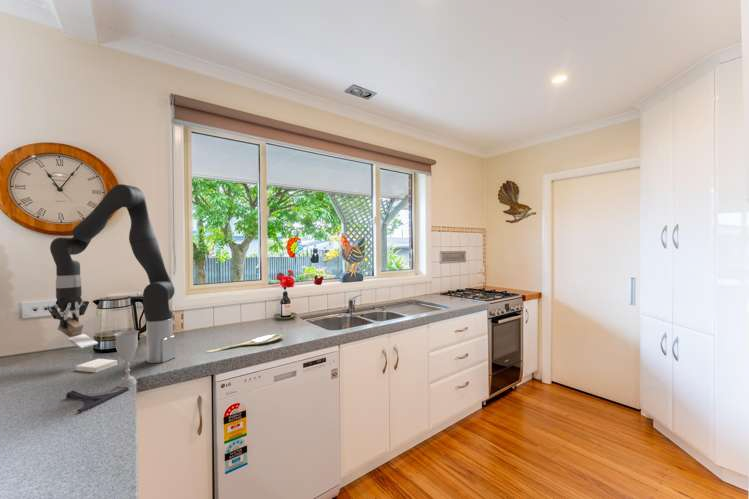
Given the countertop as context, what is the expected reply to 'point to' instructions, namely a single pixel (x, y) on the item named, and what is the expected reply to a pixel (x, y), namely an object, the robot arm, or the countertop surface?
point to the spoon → (252, 342)
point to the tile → (96, 365)
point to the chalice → (127, 352)
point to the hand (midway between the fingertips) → (69, 327)
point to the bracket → (93, 398)
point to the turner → (77, 334)
